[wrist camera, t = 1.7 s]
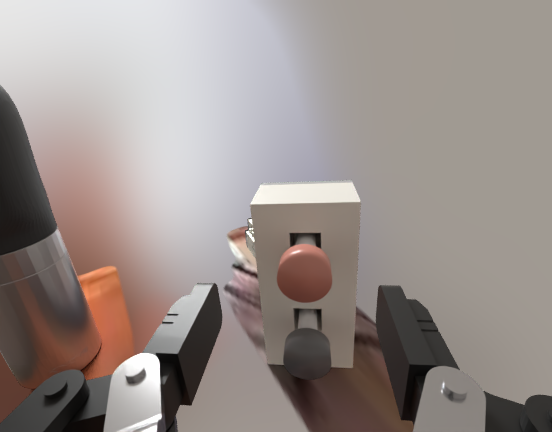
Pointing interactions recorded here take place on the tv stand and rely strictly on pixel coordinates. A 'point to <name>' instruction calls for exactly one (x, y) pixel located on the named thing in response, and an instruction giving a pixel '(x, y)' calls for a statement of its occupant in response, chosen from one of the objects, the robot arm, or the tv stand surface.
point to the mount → (329, 237)
